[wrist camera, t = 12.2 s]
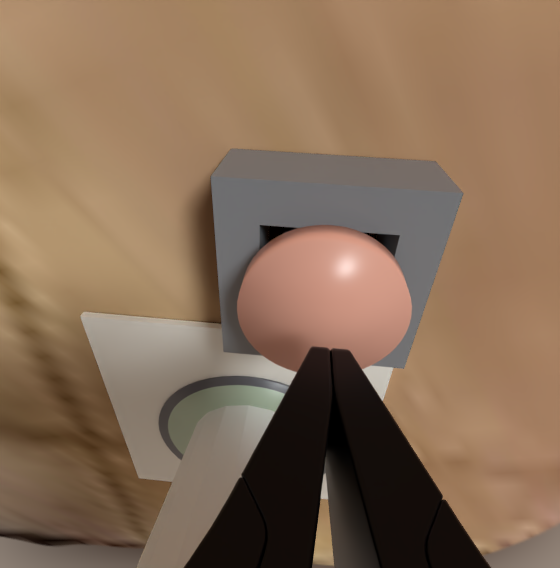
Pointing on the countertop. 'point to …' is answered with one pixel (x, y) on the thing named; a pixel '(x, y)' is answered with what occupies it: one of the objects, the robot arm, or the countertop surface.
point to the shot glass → (203, 482)
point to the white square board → (181, 383)
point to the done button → (323, 296)
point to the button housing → (330, 218)
